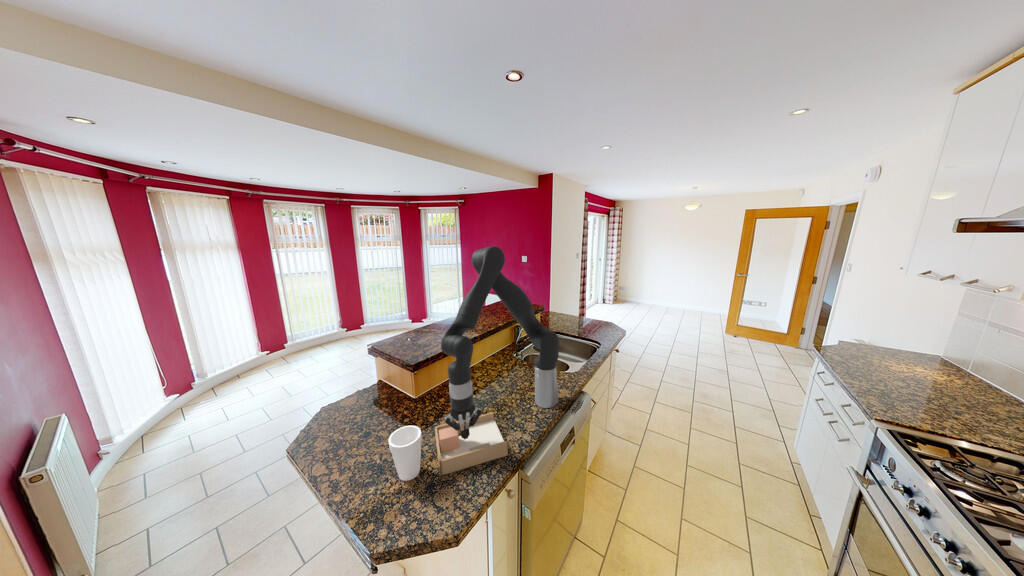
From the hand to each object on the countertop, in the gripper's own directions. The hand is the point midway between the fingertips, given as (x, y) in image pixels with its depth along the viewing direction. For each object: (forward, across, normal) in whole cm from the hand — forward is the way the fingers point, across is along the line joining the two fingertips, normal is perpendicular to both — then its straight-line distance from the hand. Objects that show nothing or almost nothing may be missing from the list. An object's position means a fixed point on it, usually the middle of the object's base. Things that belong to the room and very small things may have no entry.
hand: (465, 437), depth 96 cm
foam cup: (+4, +19, +4) cm, 19 cm away
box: (+4, -1, 0) cm, 4 cm away
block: (+2, +6, 0) cm, 6 cm away
